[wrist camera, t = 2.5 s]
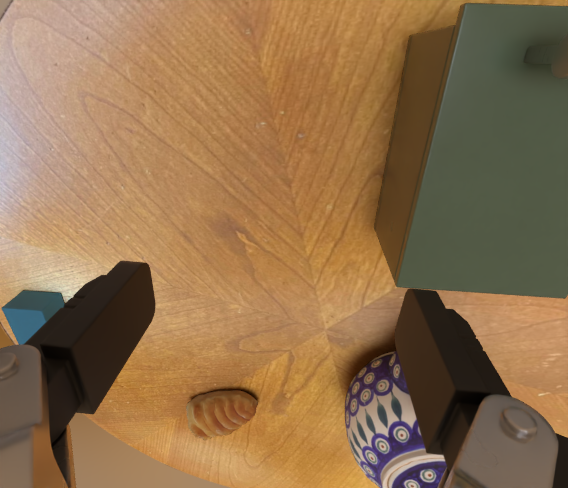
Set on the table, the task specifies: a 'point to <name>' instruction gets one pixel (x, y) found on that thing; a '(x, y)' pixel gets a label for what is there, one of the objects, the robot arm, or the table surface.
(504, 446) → the robot arm
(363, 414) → the teapot
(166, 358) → the table surface
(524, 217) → the lid
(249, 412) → the pastry
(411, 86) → the bin
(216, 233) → the table surface
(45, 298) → the blue rectangular block
